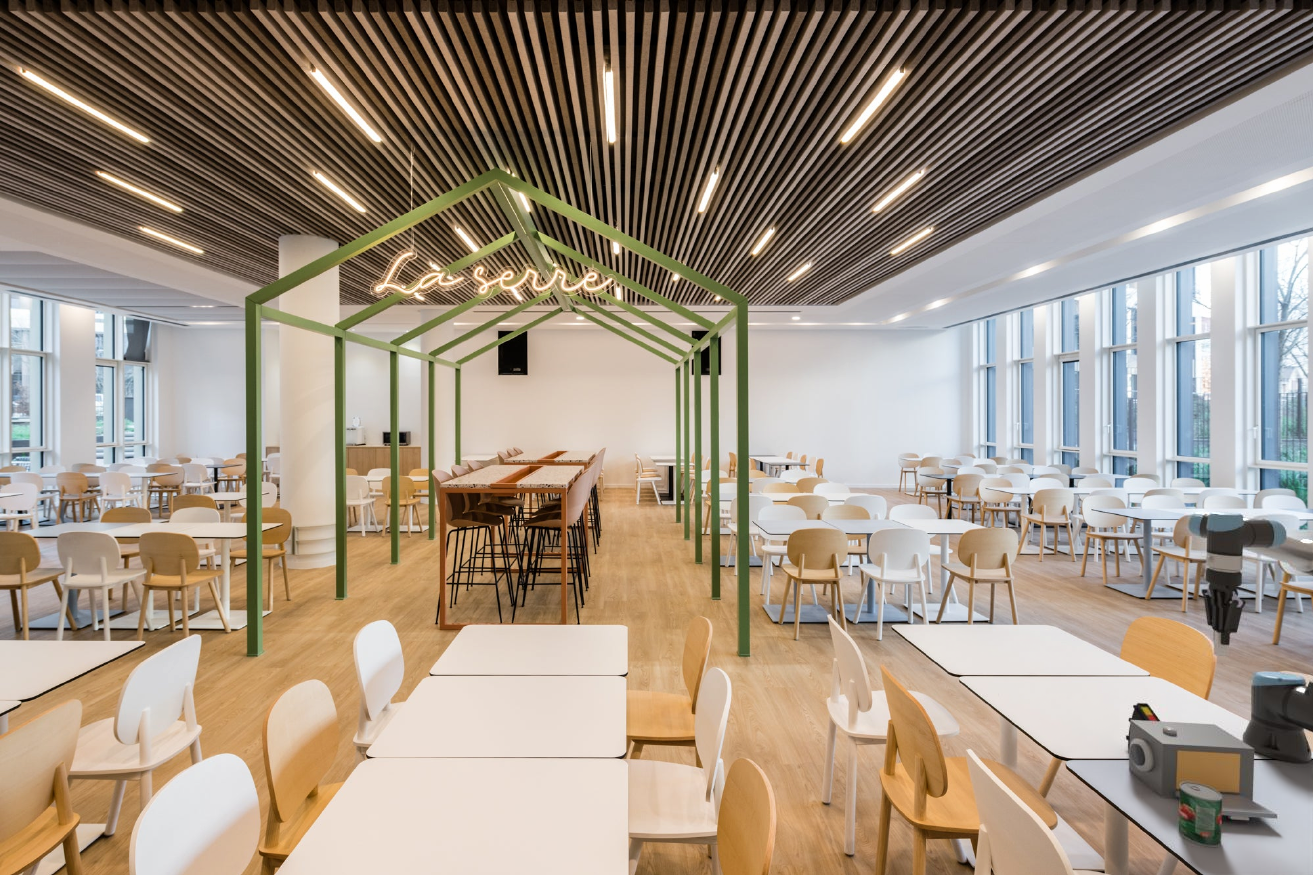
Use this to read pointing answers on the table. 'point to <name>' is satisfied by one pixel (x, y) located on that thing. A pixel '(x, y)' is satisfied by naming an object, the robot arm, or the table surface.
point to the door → (1242, 807)
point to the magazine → (1142, 715)
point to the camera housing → (1190, 757)
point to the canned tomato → (1200, 814)
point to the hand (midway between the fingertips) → (1221, 655)
